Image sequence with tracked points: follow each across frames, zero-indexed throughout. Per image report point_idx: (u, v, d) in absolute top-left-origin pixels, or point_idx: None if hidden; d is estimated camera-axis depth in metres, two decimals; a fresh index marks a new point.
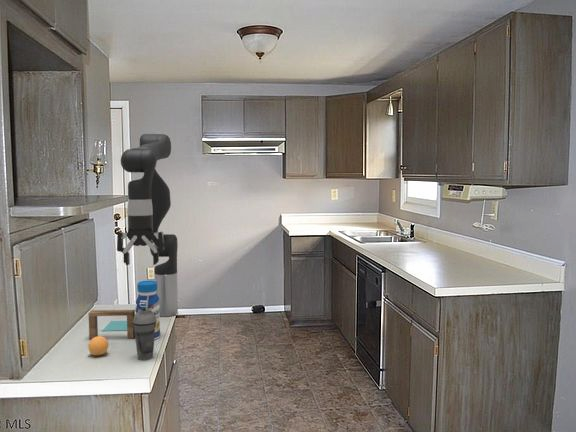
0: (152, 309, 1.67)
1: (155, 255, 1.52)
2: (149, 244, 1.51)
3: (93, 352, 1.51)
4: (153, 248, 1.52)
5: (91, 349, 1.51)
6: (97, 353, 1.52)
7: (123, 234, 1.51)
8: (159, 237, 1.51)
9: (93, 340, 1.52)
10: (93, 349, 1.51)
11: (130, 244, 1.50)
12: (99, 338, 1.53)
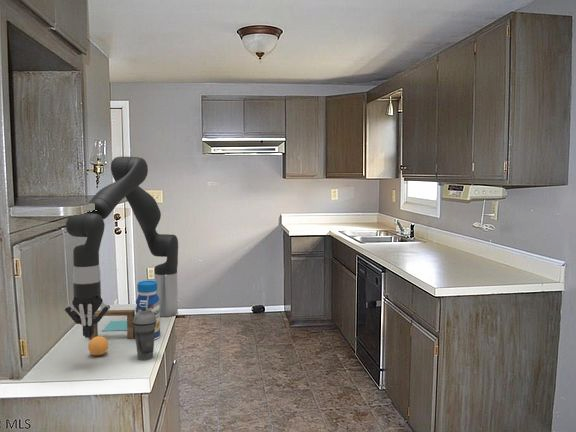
0: (152, 309, 1.67)
1: (89, 328, 1.43)
2: (89, 315, 1.42)
3: (93, 352, 1.51)
4: (89, 320, 1.43)
5: (91, 349, 1.51)
6: (97, 353, 1.52)
7: (70, 307, 1.43)
8: (102, 311, 1.43)
9: (93, 340, 1.52)
10: (93, 349, 1.51)
11: (82, 314, 1.42)
12: (99, 338, 1.53)
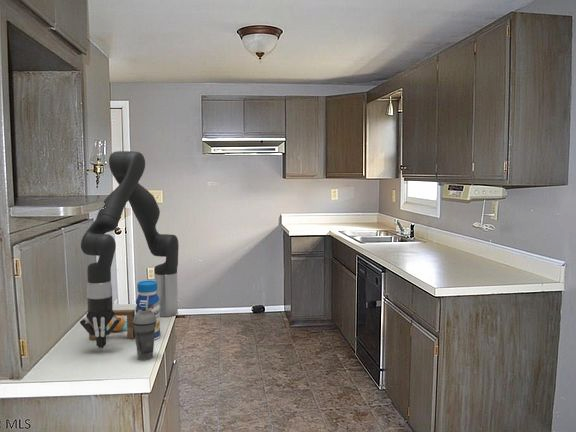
0: (152, 309, 1.67)
1: (102, 339, 1.56)
2: (102, 327, 1.55)
3: None
4: (102, 331, 1.56)
5: None
6: None
7: (85, 319, 1.56)
8: (114, 323, 1.56)
9: None
10: None
11: (96, 326, 1.55)
12: None
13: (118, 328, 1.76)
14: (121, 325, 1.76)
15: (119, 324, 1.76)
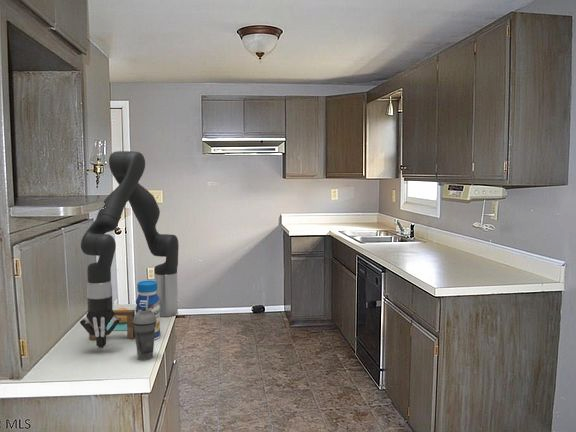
0: (152, 309, 1.67)
1: (102, 339, 1.56)
2: (102, 327, 1.55)
3: None
4: (102, 331, 1.56)
5: None
6: None
7: (85, 319, 1.56)
8: (114, 323, 1.56)
9: None
10: None
11: (96, 326, 1.55)
12: (122, 320, 1.85)
13: None
14: None
15: None
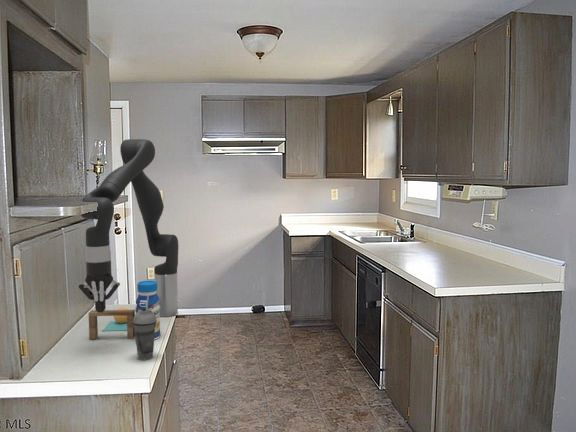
0: (152, 309, 1.67)
1: (101, 303, 1.55)
2: (101, 291, 1.54)
3: None
4: (101, 296, 1.55)
5: None
6: None
7: (83, 284, 1.55)
8: (113, 287, 1.55)
9: (118, 321, 1.85)
10: None
11: (95, 291, 1.54)
12: (122, 320, 1.85)
13: None
14: None
15: None
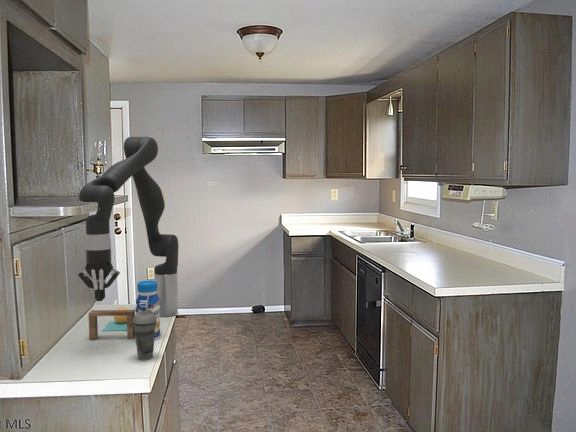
0: (152, 309, 1.67)
1: (101, 292, 1.55)
2: (101, 279, 1.54)
3: None
4: (101, 284, 1.54)
5: None
6: None
7: (83, 272, 1.54)
8: (113, 276, 1.54)
9: (118, 321, 1.85)
10: None
11: (94, 279, 1.53)
12: (122, 320, 1.85)
13: None
14: None
15: None
